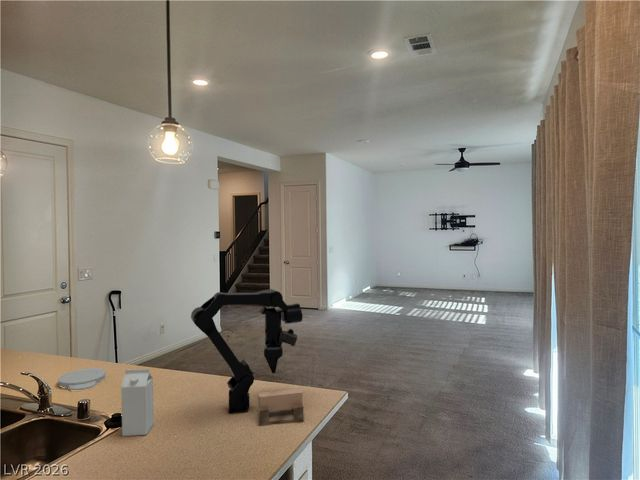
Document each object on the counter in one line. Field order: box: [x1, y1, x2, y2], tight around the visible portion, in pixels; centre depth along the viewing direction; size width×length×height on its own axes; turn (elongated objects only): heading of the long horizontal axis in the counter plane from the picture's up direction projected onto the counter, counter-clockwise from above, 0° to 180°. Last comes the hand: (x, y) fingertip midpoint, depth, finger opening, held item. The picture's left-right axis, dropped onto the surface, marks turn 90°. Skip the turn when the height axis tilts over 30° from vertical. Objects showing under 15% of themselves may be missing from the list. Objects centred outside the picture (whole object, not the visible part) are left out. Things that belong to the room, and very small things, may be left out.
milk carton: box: [120, 368, 155, 437], centre depth 128 cm, size 7×7×19 cm
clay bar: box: [258, 388, 304, 411], centre depth 136 cm, size 14×4×5 cm, turn 104°
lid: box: [57, 367, 107, 391], centre depth 169 cm, size 17×20×3 cm
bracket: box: [258, 404, 305, 426], centre depth 136 cm, size 14×9×5 cm, turn 99°
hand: (273, 368), depth 148 cm, fingers open, 9 cm apart
